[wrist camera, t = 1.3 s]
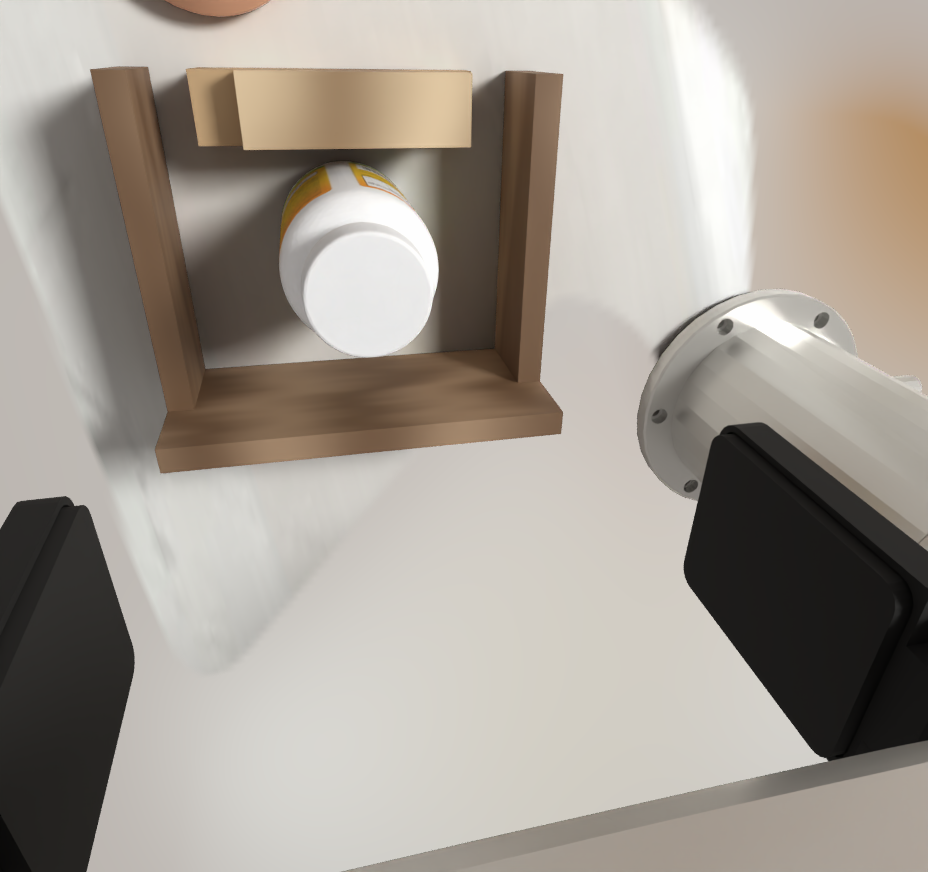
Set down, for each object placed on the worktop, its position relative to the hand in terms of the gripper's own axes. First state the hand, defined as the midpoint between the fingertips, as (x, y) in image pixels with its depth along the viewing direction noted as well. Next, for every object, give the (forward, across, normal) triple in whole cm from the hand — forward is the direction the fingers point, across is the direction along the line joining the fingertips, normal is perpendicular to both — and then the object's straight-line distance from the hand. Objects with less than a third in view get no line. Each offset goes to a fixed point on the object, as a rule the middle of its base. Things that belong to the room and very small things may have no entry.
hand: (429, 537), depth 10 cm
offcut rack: (+22, 0, 0) cm, 22 cm away
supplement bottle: (+22, 0, 0) cm, 22 cm away
